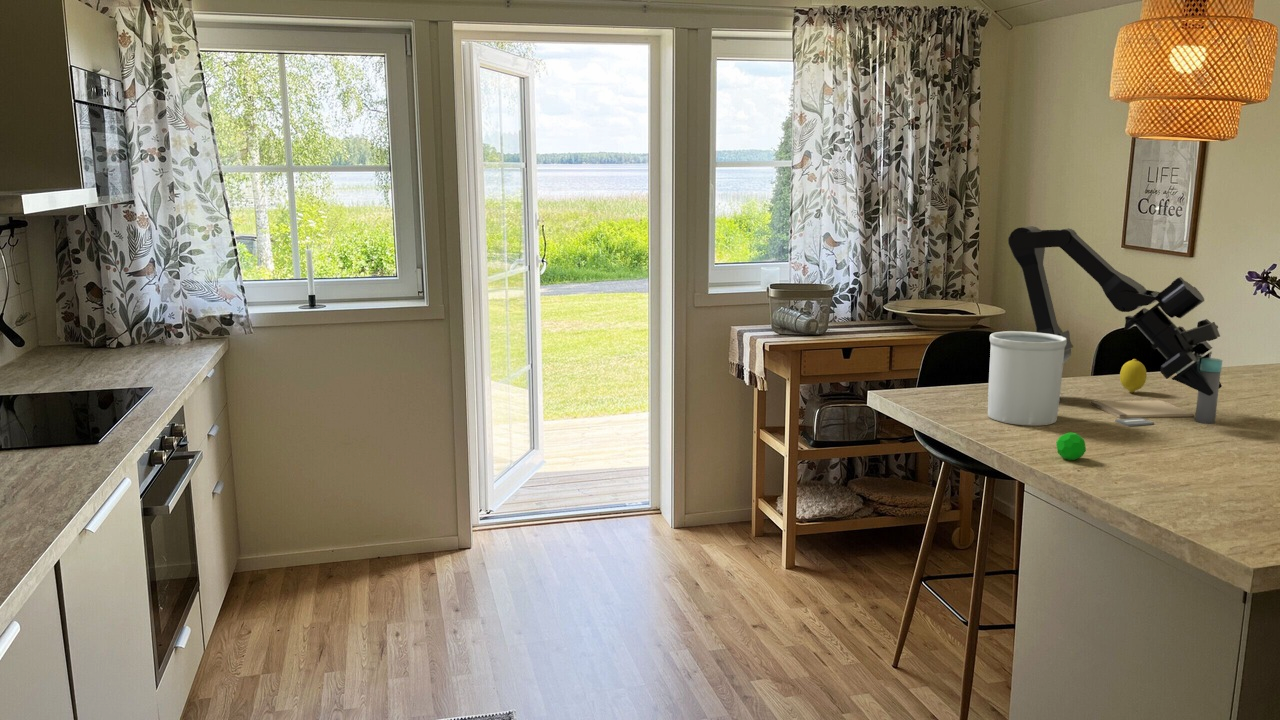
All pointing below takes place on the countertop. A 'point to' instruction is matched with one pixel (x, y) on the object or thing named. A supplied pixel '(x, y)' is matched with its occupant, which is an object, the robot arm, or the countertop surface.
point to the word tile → (1134, 421)
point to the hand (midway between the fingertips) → (1215, 391)
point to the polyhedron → (1071, 446)
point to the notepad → (1141, 409)
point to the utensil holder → (1025, 377)
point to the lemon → (1133, 375)
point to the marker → (1212, 375)
